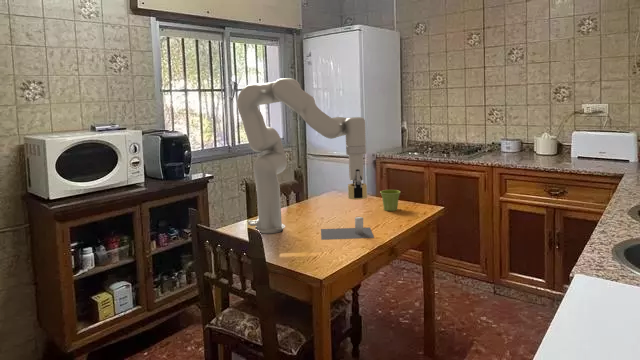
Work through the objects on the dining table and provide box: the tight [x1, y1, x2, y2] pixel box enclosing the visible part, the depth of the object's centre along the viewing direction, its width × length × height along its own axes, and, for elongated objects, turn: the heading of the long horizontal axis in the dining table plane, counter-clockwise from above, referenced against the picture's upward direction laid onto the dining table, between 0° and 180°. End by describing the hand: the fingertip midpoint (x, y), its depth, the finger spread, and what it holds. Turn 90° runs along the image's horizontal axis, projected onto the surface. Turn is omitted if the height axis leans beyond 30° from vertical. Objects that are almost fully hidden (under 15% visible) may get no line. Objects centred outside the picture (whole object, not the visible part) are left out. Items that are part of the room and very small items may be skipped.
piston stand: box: [320, 216, 375, 241], centre depth 198 cm, size 20×14×7 cm
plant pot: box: [379, 189, 401, 212], centre depth 237 cm, size 9×9×9 cm
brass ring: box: [347, 182, 368, 201], centre depth 196 cm, size 7×7×5 cm
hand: (357, 195), depth 196 cm, fingers closed on brass ring, 7 cm apart
